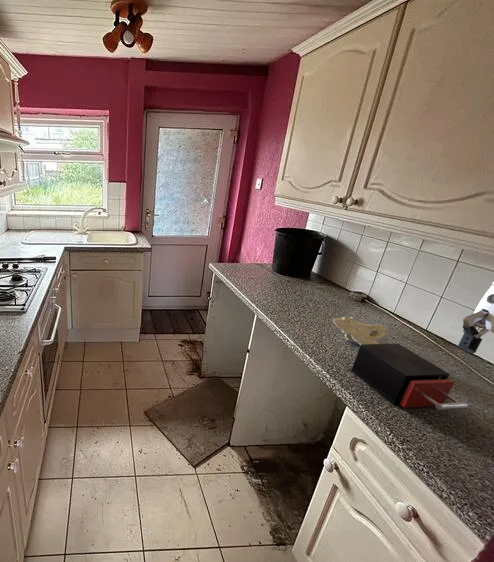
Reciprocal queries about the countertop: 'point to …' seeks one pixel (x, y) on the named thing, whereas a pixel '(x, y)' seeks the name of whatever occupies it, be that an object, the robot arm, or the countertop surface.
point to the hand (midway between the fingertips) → (484, 349)
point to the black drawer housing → (392, 368)
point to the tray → (429, 393)
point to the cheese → (362, 331)
